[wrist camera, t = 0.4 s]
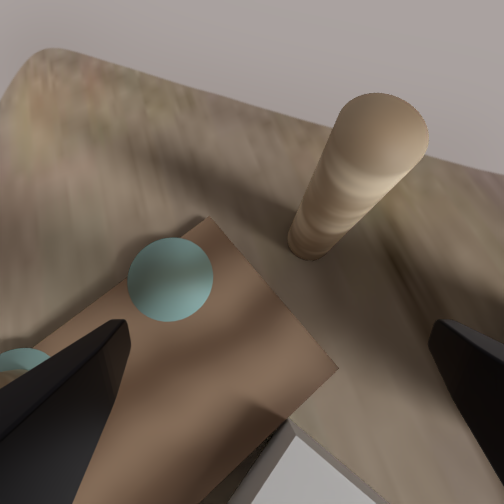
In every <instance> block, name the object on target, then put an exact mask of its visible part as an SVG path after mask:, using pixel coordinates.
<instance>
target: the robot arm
mask: <svg viewBox="0 0 504 504" xmlns="http://www.w3.org/2000/svg"><path fill="white" fill-rule="evenodd" d="M428 347H429V350H430V352H431V355H432V357H433V359H434V361H435V363H436V365H437V367H438V370H439V372H440V374H441V376H442V378H443V380H444V382H445V385H446V387H447V389H448V391H449V393H450V395H451V397H452V399H453V401H454V403H455V404H456V406H457V408H458V410H459V411H460V413H461V415H462V416H463V418H464V420H465V421H466V423H467V425H468V427H469V428H470V430H471V432H472V433H473V435H474V437H475V439H476V440H477V442H478V444H479V445H480V447H481V449H482V450H483V452H484V454H485V456H486V457H487V459H488V461H489V462H490V464H491V466H492V467H493V469H494V471H495V473H496V474H497V476H498V478H499V479H500V481H501V483H502V485H503V486H504V344H502V343H500V342H498V341H496V340H494V339H492V338H490V337H488V336H486V335H484V334H481V333H479V332H477V331H475V330H473V329H471V328H469V327H467V326H465V325H463V324H461V323H459V322H457V321H454V320H451V319H438V320H436V321H435V323H434V325H433V328H432V331H431V334H430V337H429V341H428ZM130 350H131V338H130V333H129V328H128V323H127V321H126V320H125V319H111V320H109V321H107V322H106V323H104V324H102V325H101V326H99V327H98V328H96V329H94V330H93V331H91V332H90V333H88V334H86V335H85V336H83V337H82V338H80V339H78V340H77V341H75V342H74V343H72V344H71V345H69V346H67V347H66V348H64V349H63V350H61V351H59V352H58V353H56V354H55V355H53V356H51V357H50V358H48V359H47V360H45V361H43V362H42V363H40V364H39V365H37V366H36V367H34V368H32V369H31V370H29V371H28V372H26V373H24V374H23V375H21V376H20V377H18V378H16V379H15V380H13V381H12V382H10V383H8V384H7V385H5V386H4V387H2V388H0V504H72V503H73V501H74V499H75V496H76V494H77V491H78V489H79V487H80V484H81V482H82V479H83V477H84V475H85V472H86V470H87V467H88V465H89V463H90V460H91V458H92V456H93V453H94V451H95V448H96V446H97V444H98V441H99V439H100V436H101V434H102V432H103V429H104V427H105V425H106V422H107V420H108V417H109V415H110V413H111V410H112V408H113V405H114V403H115V400H116V397H117V394H118V391H119V387H120V384H121V380H122V377H123V374H124V370H125V367H126V364H127V360H128V357H129V354H130Z"/></svg>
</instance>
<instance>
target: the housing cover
mask: <svg viewBox="0 0 504 504" xmlns="http://www.w3.org/2000/svg"><path fill="white" fill-rule="evenodd" d="M227 504H390V503H389V502H387V501H386V500H385V499H384V498H383V497H382V496H380V495H379V494H378V493H377V492H376V491H374V490H373V489H372V488H371V487H370V486H369V485H367V484H366V483H365V482H364V481H363V480H361V479H360V478H359V477H358V476H357V475H356V474H354V473H353V472H352V471H351V470H350V469H348V468H347V467H346V466H345V465H344V464H343V463H341V462H340V461H339V460H338V459H337V458H335V457H334V456H333V455H332V454H331V453H330V452H328V451H327V450H326V449H325V448H324V447H322V446H321V445H320V444H319V443H318V442H317V441H315V440H314V439H313V438H312V437H311V436H309V435H308V434H307V433H306V432H305V431H304V430H302V429H301V428H300V427H299V426H298V425H296V424H295V423H294V422H293V421H292V420H291V419H289V418H287V419H286V420H285V421H284V422H283V423H282V424H281V425H280V426H279V427H278V429H277V430H276V432H275V433H274V435H273V436H272V438H271V439H270V441H269V442H268V443H267V445H266V446H265V448H264V449H263V451H262V452H261V454H260V455H259V457H258V458H257V460H256V461H255V463H254V464H253V466H252V467H251V469H250V470H249V472H248V473H247V475H246V476H245V477H244V479H243V480H242V482H241V483H240V485H239V486H238V488H237V489H236V491H235V492H234V494H233V495H232V497H231V498H230V500H229V501H228V503H227Z"/></svg>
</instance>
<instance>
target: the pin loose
mask: <svg viewBox="0 0 504 504" xmlns="http://www.w3.org/2000/svg"><path fill="white" fill-rule="evenodd" d="M428 142H429V134H428V129H427V126H426V124H425V121H424V119H423V118H422V116H421V115H420V114H419V112H418V111H417V110H416V109H415V108H414V107H413V106H411V105H410V104H409V103H407V102H406V101H404V100H402V99H400V98H398V97H395V96H393V95H389V94H383V93H369V94H364V95H361V96H358V97H356V98H354V99H352V100H351V101H349V102H348V103H347V104H346V105H345V106H344V107H343V108H342V110H341V111H340V113H339V116H338V118H337V120H336V123H335V125H334V127H333V129H332V132H331V134H330V136H329V139H328V141H327V143H326V146H325V148H324V150H323V153H322V155H321V157H320V160H319V162H318V164H317V167H316V169H315V171H314V174H313V176H312V178H311V181H310V183H309V185H308V188H307V190H306V192H305V195H304V197H303V199H302V201H301V204H300V206H299V208H298V211H297V213H296V215H295V218H294V220H293V222H292V225H291V227H290V229H289V232H288V236H287V241H288V246H289V248H290V250H291V251H292V252H293V253H294V254H295V255H296V256H297V257H299V258H301V259H304V260H317V259H319V258H321V257H323V256H324V255H325V254H326V253H327V252H328V251H329V250H330V249H331V248H332V247H333V246H334V245H335V244H336V243H337V242H338V241H339V240H340V239H341V238H342V237H343V236H344V235H345V234H346V233H347V232H348V231H349V230H350V229H351V228H352V227H353V226H354V225H355V224H356V223H357V222H358V221H359V220H360V219H361V218H362V217H363V216H364V215H365V214H366V213H367V212H368V211H369V210H370V209H371V208H372V207H373V206H374V205H375V204H376V203H378V202H379V201H380V200H381V199H382V198H383V197H384V196H385V195H386V194H387V193H388V192H389V191H390V190H391V189H392V188H393V187H394V186H395V185H396V184H397V183H398V182H399V181H400V180H401V179H402V178H403V177H404V176H405V175H406V174H407V173H408V172H409V171H410V170H411V169H412V168H413V167H414V166H415V165H416V164H417V163H418V162H419V161H420V160H421V159H422V157H423V156H424V154H425V152H426V150H427V147H428Z"/></svg>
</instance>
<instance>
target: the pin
mask: <svg viewBox="0 0 504 504" xmlns="http://www.w3.org/2000/svg"><path fill="white" fill-rule="evenodd" d="M26 372H28V370H25V369H16V370H9V371H3V372H0V388H2V387H4V386H5V385H7V384H8V383H10V382H12V381H13V380H15V379H16V378H18V377H20V376H21V375H23V374H24V373H26Z"/></svg>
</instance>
